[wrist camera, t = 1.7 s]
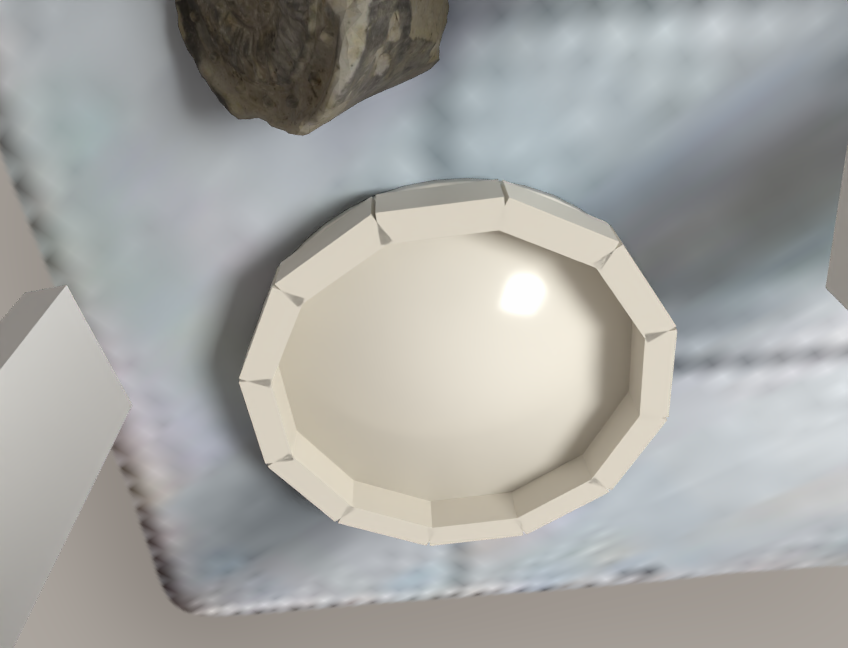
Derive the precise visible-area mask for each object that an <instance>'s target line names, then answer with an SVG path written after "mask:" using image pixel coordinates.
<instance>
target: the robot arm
mask: <svg viewBox="0 0 848 648" xmlns="http://www.w3.org/2000/svg"><path fill="white" fill-rule="evenodd" d="M826 289H827V290H828V291H829V292H830V293H831V294H832V295H833V296H834V297H835V298H836V299H837V300H838V301H839V302H840V303H841V304H842V305H843V306H844V307H845V308H846V309H847V310H848V145H847V152H846V158H845V165H844V171H843V178H842V184H841V191H840V197H839V204H838V210H837V217H836V223H835V230H834V236H833V243H832V249H831V256H830V262H829V269H828V275H827V282H826ZM131 406H132V404H131V402H130V400H129V398H128V396H127V395H126V393H125V391H124V389H123V387H122V385H121V384H120V382H119V380H118V378H117V376H116V374H115V373H114V371H113V369H112V367H111V365H110V363H109V362H108V360H107V358H106V356H105V354H104V352H103V351H102V349H101V347H100V345H99V343H98V341H97V340H96V338H95V336H94V334H93V332H92V331H91V329H90V327H89V325H88V323H87V321H86V320H85V318H84V316H83V314H82V312H81V310H80V309H79V307H78V305H77V303H76V301H75V299H74V298H73V296H72V294H71V292H70V290H69V288H68V287H67V285H63V286H58V287H52V288H48V289H42V290H36V291H31V292H25V293H24V294H23V295H22V297H21V298H20V299H19V300H18V301H17V302H16V304H15V305H14V306H13V307H12V308H11V309H10V310H9V312H8V313H7V314H6V315H5V317H3V319H2V320H1V321H0V648H14V646H15V643H16V642H17V640H18V637H19V635H20V633H21V631H22V629H23V627H24V625H25V623H26V621H27V619H28V617H29V615H30V613H31V611H32V609H33V607H34V605H35V603H36V601H37V599H38V596H39V595H40V593H41V591H42V588H43V586H44V584H45V582H46V580H47V578H48V576H49V574H50V572H51V570H52V568H53V566H54V564H55V562H56V560H57V558H58V556H59V554H60V551H61V550H62V547H63V546H64V543H65V541H66V539H67V537H68V535H69V533H70V531H71V529H72V527H73V525H74V523H75V521H76V519H77V517H78V515H79V513H80V510H81V509H82V507H83V505H84V503H85V501H86V498H87V496H88V494H89V492H90V490H91V488H92V486H93V484H94V482H95V480H96V478H97V476H98V474H99V472H100V470H101V468H102V466H103V463H104V462H105V460H106V458H107V455H108V453H109V451H110V449H111V447H112V445H113V443H114V441H115V439H116V437H117V435H118V433H119V431H120V429H121V427H122V425H123V423H124V421H125V419H126V417H127V415H128V413H129V411H130V408H131Z"/></svg>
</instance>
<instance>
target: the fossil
mask: <svg viewBox="0 0 848 648" xmlns="http://www.w3.org/2000/svg"><path fill="white" fill-rule="evenodd" d="M175 4H176V8H177V12H178V27H179V30H180V33H181V35H182V38H183V40H184V42H185V45H186V47H187V50H188V51H189V53H190V54H191V55H192V57H193V58H194V60H195V63H196V65H197V67H198V70H199V72H200V74H201V76H202V77H203V78H204V79H205V80H206V82H207V83H208V85H209V87H210V89H211V90H212V91H213V93H214V94H215V95H216V96H217V98H218V99H219V101H220V102H221V103H222V104H223V105H224V106H225V107H226V109H227V110H228V111H229V112H230V113H231V114H232V115H234V116H235V117H236V118H238V119H252V118H260V119H263V120H265V121H267V122H268V123H269V124H270V125H271V126H272V127H275V128H278V129H281V130H284V131H286V132H288V133H289V134H295V135H306V134H309V133H311V132H312V131H314V130H315V129H317V128H318V127H320V126H321V125H323V124H325V123H327V122H329V121H331V120H332V119H333V118H335V117H336V116H338V115H340V114H341V113H343V112H344V111H346V110H347V109H349V108H351V107H352V106H354V105H355V104H357V103H359V102H361V101H362V100H364V99H366V98H368V97H371V96H373V95H375V94H377V93H379V92H382V91H384V90H386V89H389V88H391V87H394V86H396V85H398V84H401V83H403V82H405V81H407V80H409V79H412V78H414V77H416V76H418V75H420V74H422V73H424V72H426V71H428V70H429V69H431V68H432V67H433V66H434V65H435V64H436V63H437V62H438V61H439V45H440V42H441V38H442V34H443V31H444V28H445V26H446V23H447V14H448V11H449V4H448V0H175Z"/></svg>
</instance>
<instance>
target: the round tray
mask: <svg viewBox="0 0 848 648" xmlns="http://www.w3.org/2000/svg"><path fill="white" fill-rule="evenodd" d="M676 336H677V329H676V325H675V324H674V322H673V320H672V319H671V317H670V316H669V314H668V313H667V311H666V309H665V308H664V306H663V305H662V303H661V302H660V300H659V299H658V297H657V296H656V294H655V292H654V291H653V289H652V288H651V286H650V285H649V283H648V282H647V280H646V279H645V277H644V276H643V274H642V273H641V271H640V269H639V268H638V266H637V265H636V263H635V262H634V260H633V259H632V257H631V256H630V254H629V253H628V251H627V250H626V248H625V246H624V245H623V243H622V242H621V240H620V239H619V237H618V236H617V234H616V233H615V231H614V230H613V228H612V227H611V225H610V226H609V224H608V223H607V222H605V221H602V220H600V219H597V218H595V217H593V216H590V215H588V214H587V213H585V212H584V211H583V210H581V209H580V208H578V207H576V206H574V205H572V204H570V203H568V202H566V201H564V200H562V199H560V198H558V197H556V196H554V195H552V194H549V193H546V192H543V191H540V190H537V189H534V188H531V187H528V186H525V185H520V184H515V183H510V182H507V181H505V180H502V181H499V180H498V179H494V180H488V179H472V178H460V179H444V180H433V181H428V182H423V183H417V184H412V185H407V186H403V187H400V188H397V189H394V190H391V191H388V192H385V193H382V194H376V196H374V197H372V196H371V197H370V198H368V199H367V200H365V201H363V202H361V203H359V204H357V205H354V206H352V207H350V208H349V209H347V210H346V211H344V212H342V213H341V214H339V215H338V216H336V217H335V218H333V219H331V220H330V221H328V222H327V223H325V224H324V225H323V226H322V227H321V228H320V229H318V230H317V231H316V232H315V233H314V234H312V235H311V236H310V237H309V238H308V239H307V240H305V241H304V243H303V244H302V245H301V246H300V247H299V248H298V249H297V250H296V252H295V253H293V254H292V255H291V256H289V257H288V258H286V259H285V260H284V261H282V262H281V263H280V266H278V267H277V270H276V273H275V276H274V278H273V281H272V284H271V287H270V290H269V292H268V295H267V298H266V300H265V302H264V304H263V308H262V311H261V314H260V317H259V320H258V323H257V325H256V328H255V331H254V334H253V336H252V339H251V342H250V345H249V347H248V350H247V353H246V356H245V359H244V363H243V366H242V370H241V373H240V377H239V379H240V380H239V384H240V387H241V390H242V393H243V396H244V399H245V403H246V406H247V409H248V412H249V415H250V418H251V421H252V424H253V427H254V430H255V433H256V436H257V439H258V442H259V445H260V449H261V452H262V455H263V458H264V461H265V464H268V467H269V468H270V469H271V470H272V471H274V472H275V473H276V474H277V475H278V476H280V477H281V478H282V479H283V480H285V481H286V482H287V483H288V484H289V485H291V486H292V487H293V488H294V489H296V490H297V491H298V492H299V493H301V494H302V495H303V496H304V497H305V498H307V499H308V500H309V501H310V502H312V503H313V504H314V505H315V506H316V507H318V508H319V509H320V510H321V511H323V512H324V513H325V514H326V515H327V516H329V517H330V518H331V519H332V520H334V521H337V520H338V523H340V524H344V525H348V526H351V527H355V528H359V529H363V530H367V531H371V532H375V533H379V534H383V535H387V536H391V537H395V538H398V539H402V540H406V541H410V542H414V543H418V544H422V545H426V546H427V544H428V543H429V541H430V546H434V545H443V544H451V543H460V542H469V541H478V540H487V539H496V538H505V537H513V536H522V535H523V531H524V532H525V533H526V534H528V533H530V532H532V531H534V530H536V529H538V528H540V527H542V526H544V525H546V524H548V523H550V522H552V521H554V520H556V519H558V518H560V517H562V516H564V515H566V514H568V513H569V512H571V511H573V510H575V509H577V508H579V507H581V506H583V505H585V504H587V503H589V502H591V501H593V500H595V499H597V498H599V497H601V496H603V495H605V494H607V493H609V491H608V489H611V490H612V489H613V488H614V487H615V485H616V484H617V483H618V482H619V480H620V479H621V478H622V477H623V475H624V474H625V473H626V472H627V470H628V469H629V468H630V467H631V465H632V464H633V463H634V461H635V460H636V459H637V458H638V456H639V455H640V454H641V453H642V451H643V450H644V449H645V448H646V446H647V445H648V444H649V442H650V441H651V440H652V439H653V437H654V436H655V435H656V434H657V432H658V431H659V430H660V429H661V427H662V426H663V425H664V423H665V422H666V421H667V419H666V417H669V407H670V397H671V387H672V377H673V367H674V357H675V346H676Z"/></svg>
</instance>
